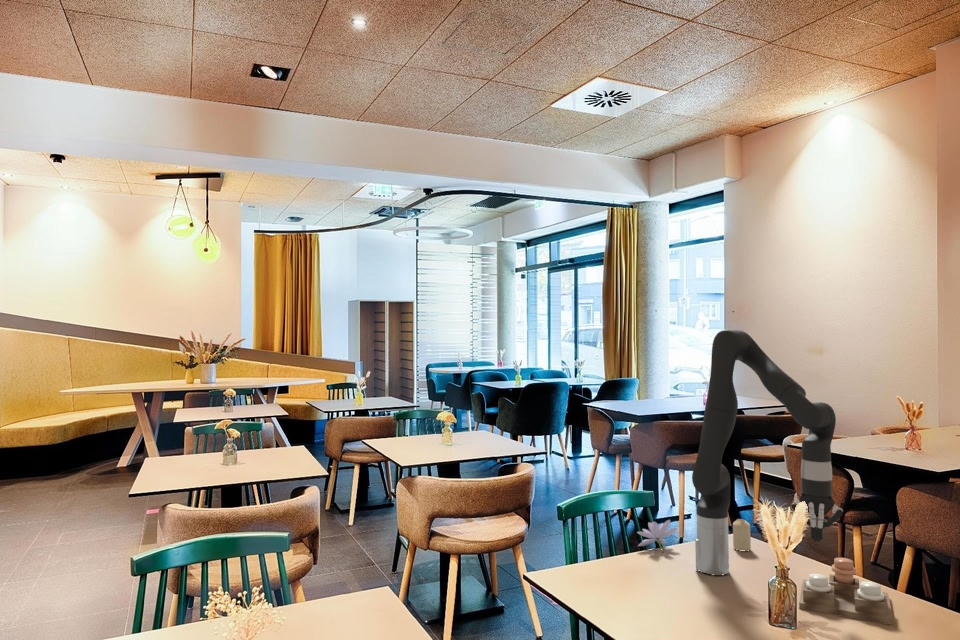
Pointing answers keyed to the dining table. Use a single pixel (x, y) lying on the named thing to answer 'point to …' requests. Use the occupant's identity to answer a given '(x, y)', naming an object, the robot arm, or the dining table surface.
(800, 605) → the mount block
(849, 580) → the middle knob
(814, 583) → the knob
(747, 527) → the candle
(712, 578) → the dining table surface
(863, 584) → the knob
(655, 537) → the water lily
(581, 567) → the dining table surface
